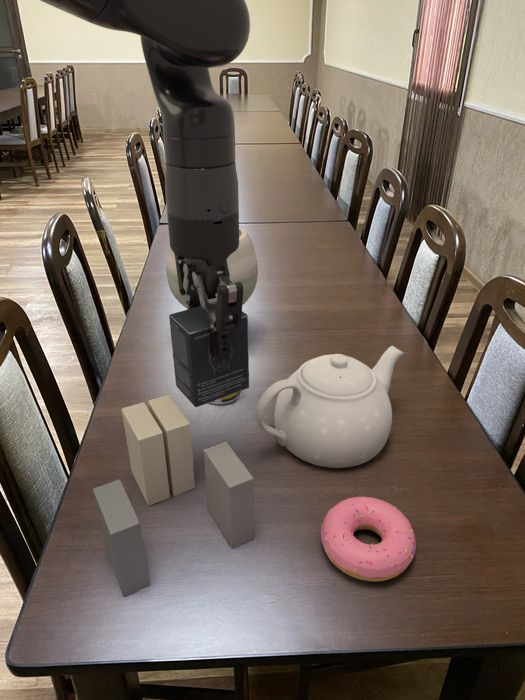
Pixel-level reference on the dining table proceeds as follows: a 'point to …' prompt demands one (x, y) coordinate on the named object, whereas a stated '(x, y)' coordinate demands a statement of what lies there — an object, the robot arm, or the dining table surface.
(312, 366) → the teapot
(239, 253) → the planter
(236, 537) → the grey books
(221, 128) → the robot arm
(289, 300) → the dining table surface
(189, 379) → the box
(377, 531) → the doughnut
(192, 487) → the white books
